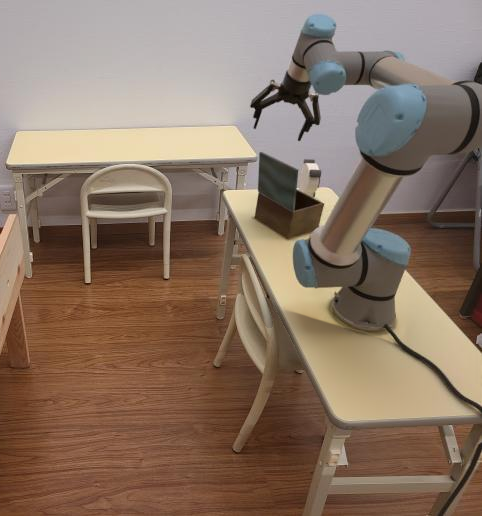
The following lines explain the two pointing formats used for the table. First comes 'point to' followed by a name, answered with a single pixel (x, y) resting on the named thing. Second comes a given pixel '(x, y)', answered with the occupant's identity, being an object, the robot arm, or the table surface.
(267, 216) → the chest
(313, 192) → the panda figurine
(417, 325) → the table surface
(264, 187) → the lid
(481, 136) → the robot arm
